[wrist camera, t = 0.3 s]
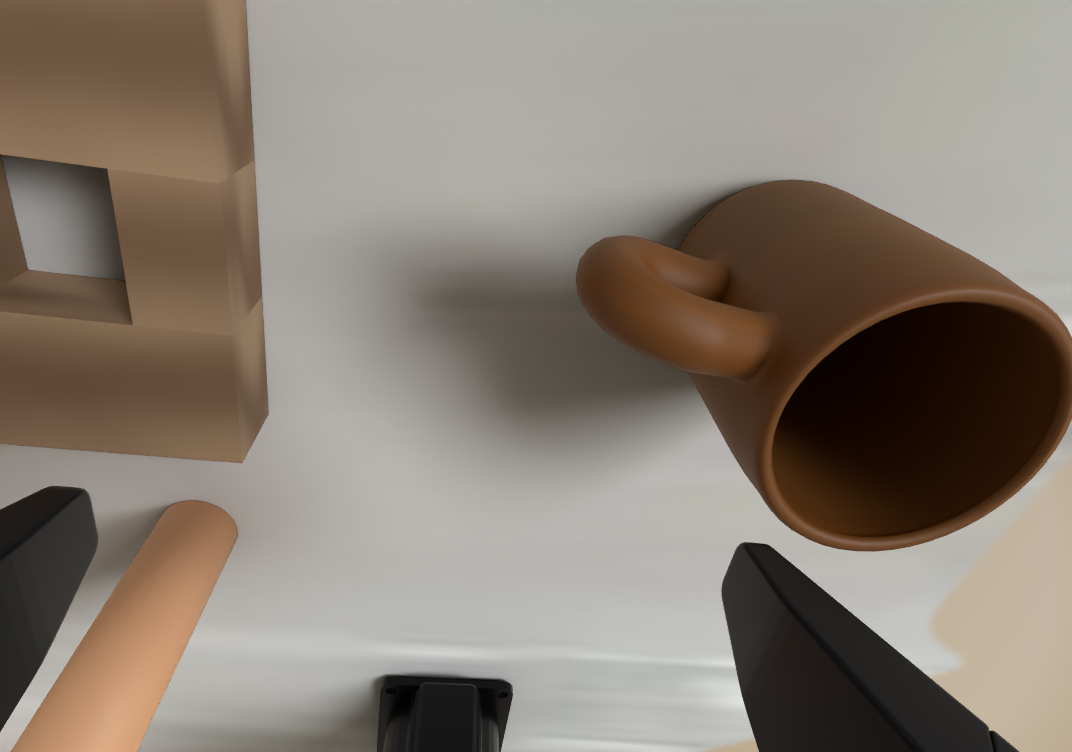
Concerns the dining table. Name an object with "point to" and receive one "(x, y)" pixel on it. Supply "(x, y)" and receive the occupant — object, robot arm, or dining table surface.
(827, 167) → the dining table surface
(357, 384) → the dining table surface
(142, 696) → the peg
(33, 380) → the hole block
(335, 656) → the dining table surface
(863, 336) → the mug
